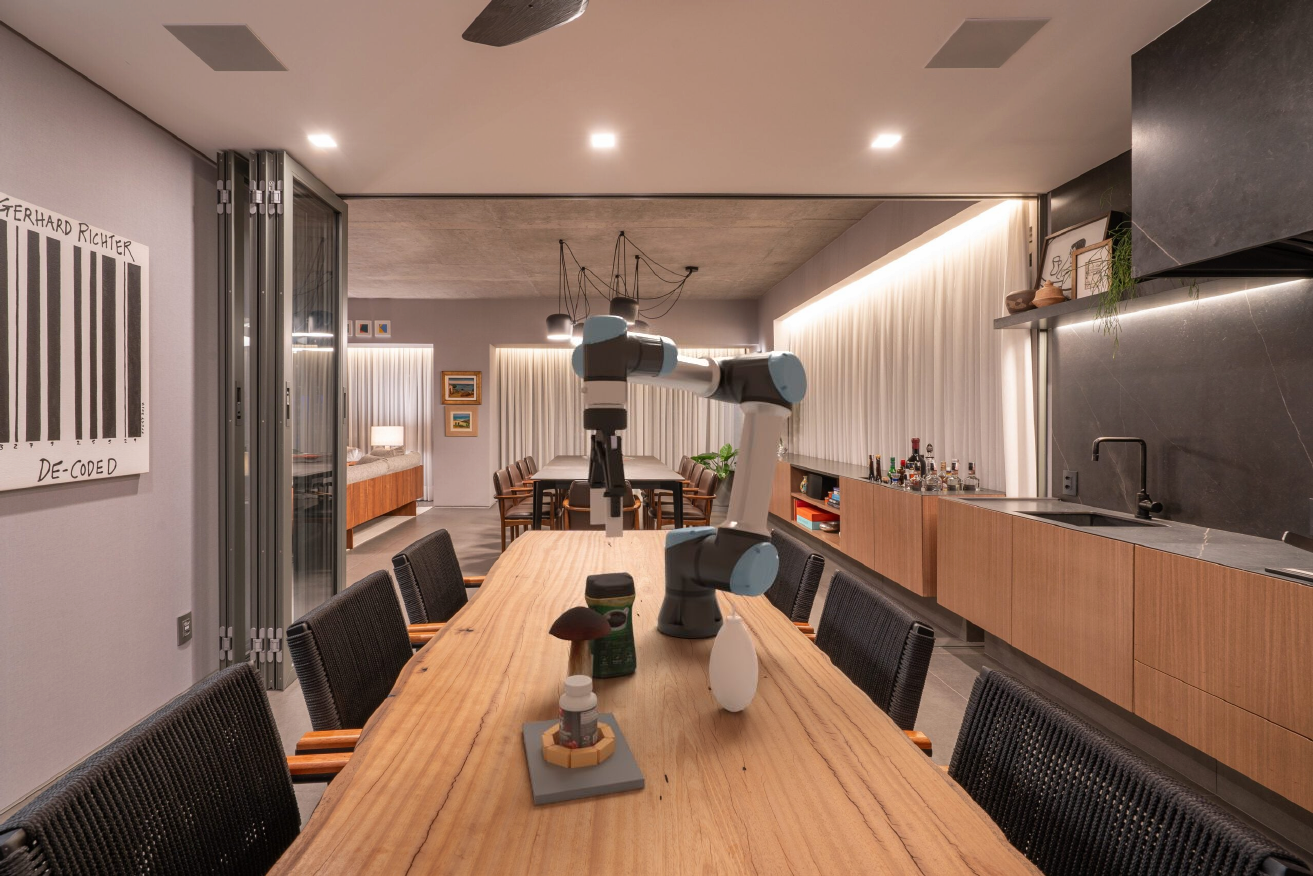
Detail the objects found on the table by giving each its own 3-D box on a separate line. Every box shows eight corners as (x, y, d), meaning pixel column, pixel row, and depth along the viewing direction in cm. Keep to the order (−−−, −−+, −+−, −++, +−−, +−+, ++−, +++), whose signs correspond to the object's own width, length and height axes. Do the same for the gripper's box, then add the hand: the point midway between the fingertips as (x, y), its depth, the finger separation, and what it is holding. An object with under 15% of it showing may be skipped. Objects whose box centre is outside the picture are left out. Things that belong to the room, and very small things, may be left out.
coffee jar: (629, 660, 128) (629, 567, 128) (640, 675, 121) (640, 576, 121) (581, 666, 125) (580, 571, 125) (589, 681, 118) (589, 580, 118)
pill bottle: (551, 749, 91) (550, 680, 91) (579, 735, 95) (579, 669, 95) (577, 763, 88) (577, 691, 87) (605, 747, 92) (605, 679, 91)
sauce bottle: (726, 724, 101) (727, 610, 101) (700, 705, 108) (700, 598, 108) (767, 714, 105) (767, 603, 104) (739, 696, 112) (739, 592, 111)
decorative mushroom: (542, 685, 116) (542, 602, 116) (600, 675, 121) (600, 595, 120) (558, 709, 106) (557, 619, 106) (620, 698, 111) (620, 611, 110)
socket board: (612, 719, 103) (612, 701, 103) (644, 787, 84) (644, 764, 84) (522, 731, 99) (522, 711, 99) (534, 805, 80) (534, 781, 80)
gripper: (572, 408, 122) (572, 520, 123) (597, 405, 98) (598, 544, 99) (611, 408, 124) (611, 518, 125) (645, 405, 101) (645, 541, 101)
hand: (605, 530), depth 112 cm, fingers open, 13 cm apart
